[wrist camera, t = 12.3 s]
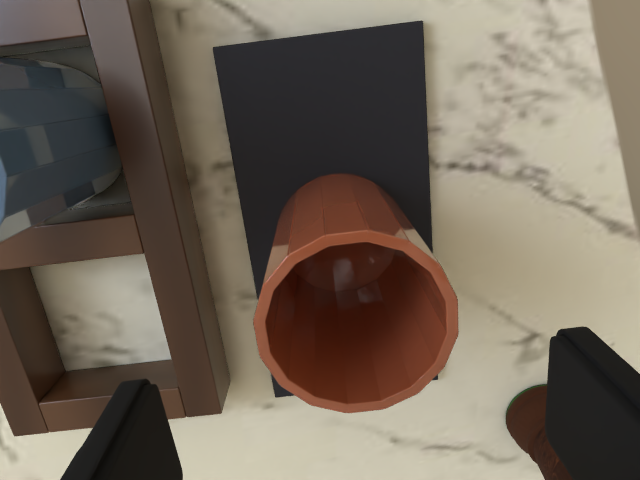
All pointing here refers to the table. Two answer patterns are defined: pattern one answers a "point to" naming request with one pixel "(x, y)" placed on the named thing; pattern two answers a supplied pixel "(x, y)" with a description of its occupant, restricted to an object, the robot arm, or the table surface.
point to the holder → (111, 232)
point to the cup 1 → (50, 143)
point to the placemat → (326, 123)
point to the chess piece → (534, 431)
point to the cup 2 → (352, 299)
